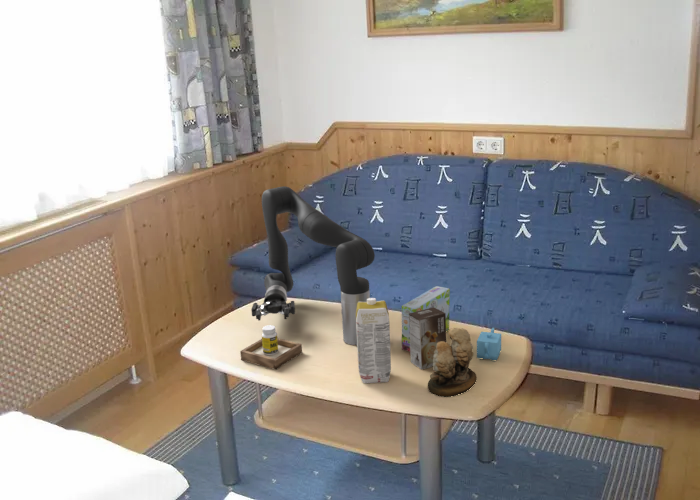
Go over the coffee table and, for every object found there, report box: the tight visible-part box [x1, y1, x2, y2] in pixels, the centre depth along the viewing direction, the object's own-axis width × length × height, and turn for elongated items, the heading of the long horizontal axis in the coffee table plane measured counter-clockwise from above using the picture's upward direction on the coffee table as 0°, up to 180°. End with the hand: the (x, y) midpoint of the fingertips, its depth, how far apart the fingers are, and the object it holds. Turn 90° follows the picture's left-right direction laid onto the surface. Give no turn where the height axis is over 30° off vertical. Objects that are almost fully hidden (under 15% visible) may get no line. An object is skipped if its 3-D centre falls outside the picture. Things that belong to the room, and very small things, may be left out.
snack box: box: [401, 285, 451, 353], centre depth 230 cm, size 21×6×15 cm, turn 143°
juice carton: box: [356, 297, 392, 384], centre depth 206 cm, size 9×8×24 cm
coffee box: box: [409, 307, 447, 370], centre depth 215 cm, size 9×6×16 cm
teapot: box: [476, 327, 502, 361], centre depth 219 cm, size 12×6×8 cm, turn 159°
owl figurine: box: [427, 327, 478, 398], centre depth 202 cm, size 18×12×17 cm, turn 142°
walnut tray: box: [239, 337, 303, 370], centre depth 226 cm, size 14×13×3 cm
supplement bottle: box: [261, 324, 278, 355], centre depth 225 cm, size 5×5×8 cm
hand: (272, 317), depth 234 cm, fingers open, 8 cm apart
